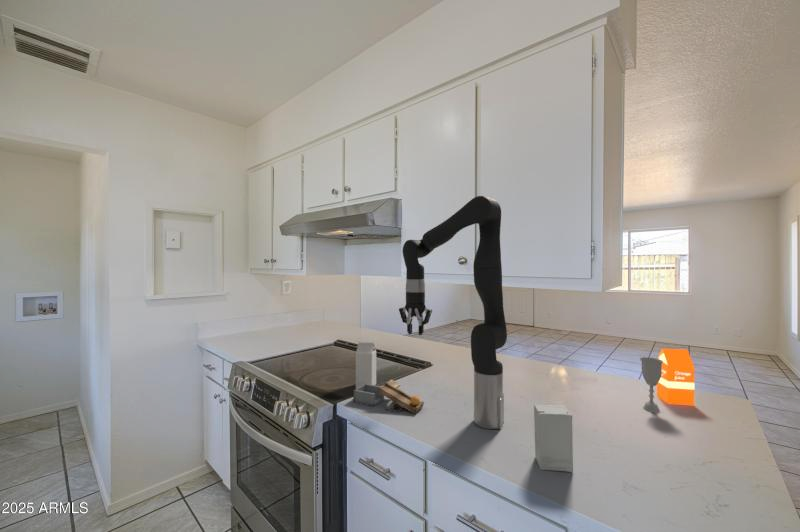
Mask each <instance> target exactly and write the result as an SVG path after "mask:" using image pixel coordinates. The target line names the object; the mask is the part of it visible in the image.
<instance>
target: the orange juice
mask: <svg viewBox="0 0 800 532" xmlns="http://www.w3.org/2000/svg"><path fill="white" fill-rule="evenodd" d="M657 359H660V360H662V361H663V363H662V376H661V378H660V380H659V382H658V383H657V385H656V397H658V398H659V399H660V400H662V401H663V402H665V403H666V404H668V405H680V406H691V407H692V406H695V366H694V363H693V361H692V358H691V355H690V352H689V350H688V349H681V348H679V349H678V348H676V349H675V348H662V349H661V351H660V353H659V355H658V358H657Z"/></svg>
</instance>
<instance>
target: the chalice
mask: <svg viewBox="0 0 800 532" xmlns="http://www.w3.org/2000/svg"><path fill="white" fill-rule="evenodd" d="M639 360H640V361H641V374H642V377H643V379H644V381H645V383H646V384H647V385H648V386H649V389H648V392H649V395H648V397H649V400H648V401H646V402H645V403H644V405H643V407H642V409H643V411H644V410H645V411H647V412H650V413H656V414H657V413H661V410H660V407H659V406H658V404H657V403H656V402H655V401H654V398H655V396H654V392H655V390H654V387H657V383H658V382H659V380H660V378H661V376H662V363H663V361H662V360H660V359H658V358H655V357H646V356H645V357H639Z"/></svg>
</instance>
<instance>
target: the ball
mask: <svg viewBox="0 0 800 532" xmlns="http://www.w3.org/2000/svg"><path fill="white" fill-rule="evenodd" d="M411 397H412V398H411V400H410V402H411V404H412V405H413V406H418V405H419V403H420V402H421V399H420V397H419V396H417V395H413V396H411Z"/></svg>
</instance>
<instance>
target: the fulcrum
mask: <svg viewBox="0 0 800 532" xmlns="http://www.w3.org/2000/svg"><path fill="white" fill-rule="evenodd" d="M385 409H387V410H386V411H389V410H391V411H390V412H394V411H395V413H398V412H400V411H401V410H402V409H404V407H402V406H400V405H399V404H397V403H395V402H394V401H391V402H390V403H389V404H388V405H387V406H386V407H385V408H384V410H385Z"/></svg>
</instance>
